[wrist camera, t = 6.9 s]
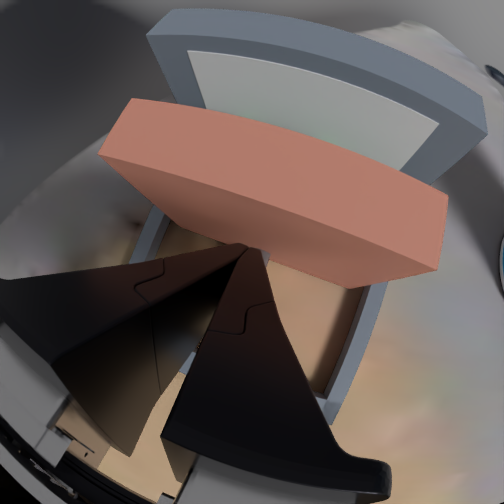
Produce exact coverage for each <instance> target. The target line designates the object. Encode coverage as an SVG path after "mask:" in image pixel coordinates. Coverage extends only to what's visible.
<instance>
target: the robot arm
mask: <svg viewBox="0 0 504 504" xmlns="http://www.w3.org/2000/svg"><path fill="white" fill-rule="evenodd" d="M201 339H202V341H201ZM200 341H201V343H200V345H199V348H198V350H197V352H196V354H195V357H194V359H193V361H192V363H191V366H190V368H189V370H188V373H187V375H186V377H185V379H184V382H183V384H182V386H181V389H180V391H179V393H178V396H177V398H176V400H175V402H174V405H173V407H172V409H171V412H170V414H169V416H168V419H167V421H166V423H165V426H164V428H163V430H162V433H161V435H160V438H161V441H162V443H163V446H164V449H165V452H166V455H167V457H168V460H169V463H170V465H171V468H172V470H173V473H174V475H175V478H176V480H177V481H179V482H181V483H182V485H181V487H180V489H179V491H178V493H177V495H176V497H173V496H170V495H168V494H166V493H162V494H161V496H160V498H159V500H158V502H157V503H156V502H154V501H152V500H150V499H148V498H146V497H144V496H142V495H140V494H138V493H136V492H134V491H132V490H131V489H129V488H127V487H125V486H123V485H122V484H120V483H118V482H116V481H115V480H113V479H111V478H110V477H108V476H107V475H105V474H103V473H102V472H100V471H99V470H97V468H98V466H99V465H100V463H101V461H102V460H103V458H104V456H105V455H106V453H107V451H108V450H109V448H110V446H111V447H113V448H115V449H116V450H118V451H120V452H121V453H123V454H125V455H127V456H128V457H130V456H131V455H132V453H133V450H134V448H135V446H136V444H137V442H138V439H139V437H140V435H141V433H142V431H143V428H144V426H145V424H146V422H147V420H148V417H149V415H150V413H151V411H152V409H153V407H154V406H155V404H156V402H157V401H158V399H159V398H160V396H161V395H162V394H163V392H164V391H165V389H166V388H167V387H168V385H169V384H170V382H171V381H172V380H173V378H174V377H175V376H176V374H177V373H178V371H179V370H180V369H181V367H182V366H183V364H184V363H185V362H186V360H187V359H188V357H189V356H190V355H191V353H192V352H193V350H194V349H195V348H196V346H197V345H198V343H199V342H200ZM30 458H31V459H32V460H33V461H34V462H35V463H37V464H38V465H39V466H40V467H41V468H42V469H43V470H45V471H46V472H47V473H48V474H49V475H50V476H52V477H53V478H54V479H55V480H57V481H58V482H59V483H60V484H62V485H63V486H64V487H66V488H67V489H68V490H65V489H64V488H62V487H60V486H58V485H56V484H54V483H52V482H51V481H50V480H51V478H50V477H49V476H48V475H47V474H45V473H43V472H41V471H40V470H38V469H36V468H35V467H34V466H35V464H34V463H33V462H32V461H31V460H30ZM391 488H392V473H391V468H390V466H389V465H388V464H387V463H385V462H383V461H379V460H374V459H368V458H361V457H356V456H352V455H350V454H348V453H346V452H345V451H344V450H343V449H342V448H340V447H339V445H338V443H337V442H336V440H335V438H334V436H333V434H332V431H331V429H330V427H329V425H328V423H327V421H326V419H325V417H324V414H323V412H322V410H321V408H320V406H319V404H318V402H317V399H316V397H315V395H314V393H313V391H312V389H311V387H310V384H309V382H308V380H307V378H306V376H305V374H304V372H303V369H302V367H301V365H300V363H299V361H298V359H297V356H296V354H295V352H294V350H293V348H292V346H291V344H290V341H289V339H288V337H287V335H286V333H285V330H284V328H283V326H282V323H281V320H280V317H279V314H278V311H277V307H276V303H275V301H274V297H273V293H272V289H271V286H270V282H269V278H268V274H267V270H266V267H265V263H264V259H263V255H262V252H261V250H258V249H255V248H253V247H250V248H249V246H247V245H244V244H242V243H233V244H229V245H224V246H219V247H214V248H209V249H204V250H199V251H195V252H190V253H185V254H180V255H175V256H171V257H166V258H163V259H162V258H159V259H155V260H150V261H144V262H139V263H132V264H126V265H118V266H111V267H103V268H95V269H88V270H80V271H73V272H65V273H57V274H50V275H42V276H35V277H27V278H20V279H12V280H6V279H1V278H0V504H370V503H375V502H380V501H384V500H387V499H388V498H389V497H390V495H391ZM500 504H504V502H503V503H500Z"/></svg>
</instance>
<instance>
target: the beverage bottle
mask: <svg viewBox="0 0 504 504" xmlns="http://www.w3.org/2000/svg"><path fill="white" fill-rule="evenodd" d="M500 276H501V282H502V287H503V290H504V237H503V240H502V244H501V250H500Z"/></svg>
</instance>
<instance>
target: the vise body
mask: <svg viewBox="0 0 504 504" xmlns="http://www.w3.org/2000/svg"><path fill="white" fill-rule="evenodd" d="M146 37H147V39H148V41H149V43H150V45H151V48H152V50H153V52H154V54H155V56H156V58H157V61H158V63H159V65H160V67H161V69H162V72H163V74H164V76H165V78H166V80H167V82H168V85H169V87H170V89H171V91H172V93H173V95H174V97H175V100H176V102H177V104H180V105H186V106H192V107H197V108H203V109H208V110H213V111H218V112H223V113H227V114H232V115H236V116H240V117H244V118H248V119H252V120H256V121H260V122H264V123H268V124H271V125H275V126H278V127H282V128H285V129H289V130H292V131H295V132H298V133H302V134H305V135H308V136H311V137H314V138H317V139H320V140H323V141H326V142H329V143H331V144H334V145H337V146H340V147H342V148H345V149H348V150H350V151H353V152H356V153H358V154H361V155H363V156H366V157H368V158H370V159H373V160H375V161H378V162H380V163H382V164H385V165H387V166H389V167H391V168H394V169H396V170H398V171H400V172H403V173H405V174H407V175H409V176H411V177H413V178H415V179H417V180H419V181H421V182H423V183H425V184H427V185H430V184H431V183H433V182H434V181H435V180H436V179H437V178H439V177H440V176H441V175H442V174H443V173H445V172H446V171H447V170H448V169H449V168H451V167H452V166H453V165H454V164H455V163H456V162H458V161H459V160H460V159H461V158H462V157H463V156H464V155H466V154H467V153H468V152H469V151H470V150H471V149H472V148H474V147H475V146H476V145H477V144H478V143H479V142H480V141H481V140H482V139H484V138H485V137H486V136H487V135H488V131H487V124H486V117H485V111H484V105H483V100H482V96H480V95H479V94H477V93H476V92H474V91H473V90H471V89H470V88H468V87H467V86H465V85H463V84H462V83H460V82H458V81H457V80H455V79H453V78H452V77H450V76H448V75H447V74H445V73H443V72H441V71H439V70H438V69H436V68H434V67H432V66H430V65H428V64H426V63H424V62H422V61H420V60H418V59H416V58H414V57H412V56H410V55H407V54H405V53H403V52H401V51H398V50H396V49H394V48H391V47H389V46H386V45H384V44H381V43H379V42H376V41H373V40H371V39H368V38H365V37H362V36H359V35H356V34H353V33H350V32H347V31H343V30H340V29H337V28H333V27H329V26H326V25H322V24H318V23H314V22H309V21H305V20H300V19H295V18H289V17H285V16H278V15H273V14H266V13H258V12H249V11H238V10H225V9H172V10H171V11H170V12H169V13H168V14H167V15H166V16H165V17H164V18H162V20H160V21H159V22H158V23H157V24H156V25H155V26H154V27H153V28H152V29H151V30H150V31H149V32H148V33H147V34H146ZM170 220H171V219H170V218H169V217H168V216H167V215H166V214H165V213H163V212H162V211H161V210H160V209H159V208H158V207H157V206H155V205H154V204H153V207H152V209H151V211H150V213H149V216H148V218H147V220H146V222H145V225H144V227H143V229H142V232H141V234H140V237H139V239H138V241H137V244H136V246H135V249H134V251H133V254H132V256H131V259H130V262H129V264H132V263H139V262H144V261H150V260H154V258H155V256H156V253H157V251H158V248H159V246H160V244H161V241H162V239H163V236H164V234H165V232H166V229H167V227H168V225H169V222H170ZM387 284H388V281H386V282H381V283H377V284H372V285H367V286H365V287H364V290H363V293H362V296H361V299H360V302H359V305H358V308H357V311H356V314H355V317H354V319H353V322H352V325H351V328H350V330H349V333H348V336H347V338H346V341H345V344H344V346H343V349H342V351H341V354H340V356H339V359H338V361H337V364H336V366H335V368H334V371H333V373H332V375H331V378H330V380H329V382H328V385H327V387H326V389H325V391H324V394H322V393H319V392H315V391H313V393H314V395H315V397H316V399H317V402H318V404H319V406H320V408H321V410H322V412H323V414H324V417H325V419H326V421H327V423H328V424H329V425H332V423H333V421H334V419H335V417H336V415H337V413H338V411H339V409H340V407H341V405H342V403H343V401H344V399H345V397H346V394H347V392H348V390H349V388H350V386H351V383H352V381H353V379H354V376H355V374H356V372H357V369H358V367H359V364H360V362H361V360H362V357H363V354H364V352H365V349H366V347H367V344H368V341H369V339H370V336H371V333H372V330H373V328H374V325H375V322H376V319H377V316H378V313H379V310H380V307H381V304H382V301H383V297H384V294H385V291H386V287H387ZM197 350H198V348H195V349H194V350H193V352H192V353H191V355H190V356H189V357H188V359H187V360H186V362H185V363H184V364H183V366H182V367H181V369H180V370H179V372H181V373H183V374H186V375H187V373H188V370H189V368H190V366H191V363H192V361H193V359H194V357H195V354H196V352H197Z"/></svg>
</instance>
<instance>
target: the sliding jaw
mask: <svg viewBox="0 0 504 504" xmlns="http://www.w3.org/2000/svg"><path fill="white" fill-rule="evenodd" d="M98 155H99V156H100V157H101V158H102V159H103V160H105V161H106V162H107V163H108V164H109V165H110V166H111V167H112V168H113V169H115V170H116V171H117V172H118V173H119V174H120V175H121V176H122V177H124V178H125V179H126V180H127V181H128V182H129V183H130V184H131V185H133V186H134V187H135V188H136V189H137V190H138V191H139V192H141V193H142V194H143V195H144V196H145V197H146V198H147V199H149V200H150V201H151V202H152V203H153V204H154V205H155V206H157V207H158V208H159V209H160V210H161V211H162V212H163V213H165V214H166V215H167V216H168V217H169V218H170V219H172V220H173V221H174V222H175V223H176V224H177V225H179V226H180V227H181V228H184V229H187V230H190V231H192V232H195V233H198V234H200V235H203V236H206V237H209V238H211V239H214V240H217V241H220V242H222V243H225V244H228V245H229V244H233V243H242V244H244V245H247V246H249V248H250V247H253V248H255V249H258V250H261V252H262V255H263V259H264V263H265V267H266V266H267V263H268V261H269V260H271V261H274V262H277V263H280V264H282V265H285V266H288V267H290V268H293V269H296V270H299V271H301V272H304V273H307V274H310V275H312V276H315V277H318V278H321V279H323V280H326V281H329V282H332V283H334V284H337V285H340V286H342V287H345V288H348V289H351V288H356V287H361V286H367V285H372V284H377V283H381V282H386V281H391V280H396V279H400V278H405V277H410V276H414V275H419V274H423V273H427V272H432V271H436V270H437V269H438V264H439V259H440V254H441V248H442V243H443V236H444V230H445V223H446V215H447V206H448V195H446V194H445V193H443V192H441V191H439V190H437V189H435V188H433V187H431V186H429V185H427V184H425V183H423V182H421V181H419V180H417V179H415V178H413V177H411V176H409V175H407V174H405V173H403V172H400V171H398V170H396V169H394V168H391V167H389V166H387V165H385V164H382V163H380V162H378V161H375V160H373V159H370V158H368V157H366V156H363V155H361V154H358V153H356V152H353V151H350V150H348V149H345V148H342V147H340V146H337V145H334V144H331V143H329V142H326V141H323V140H320V139H317V138H314V137H311V136H308V135H305V134H302V133H298V132H295V131H292V130H289V129H285V128H282V127H278V126H275V125H271V124H268V123H264V122H260V121H256V120H252V119H248V118H244V117H240V116H236V115H232V114H227V113H223V112H218V111H213V110H208V109H203V108H197V107H192V106H186V105H180V104H174V103H167V102H160V101H152V100H144V99H134V98H132V99H131V100H130V102H129V103H128V105H127V106H126V108H125V109H124V111H123V112H122V114H121V115H120V117H119V118H118V120H117V122H116V123H115V125H114V126H113V128H112V130H111V131H110V133H109V135H108V136H107V138H106V140H105V141H104V143H103V145H102V147H101V148H100V150H99V152H98Z"/></svg>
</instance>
